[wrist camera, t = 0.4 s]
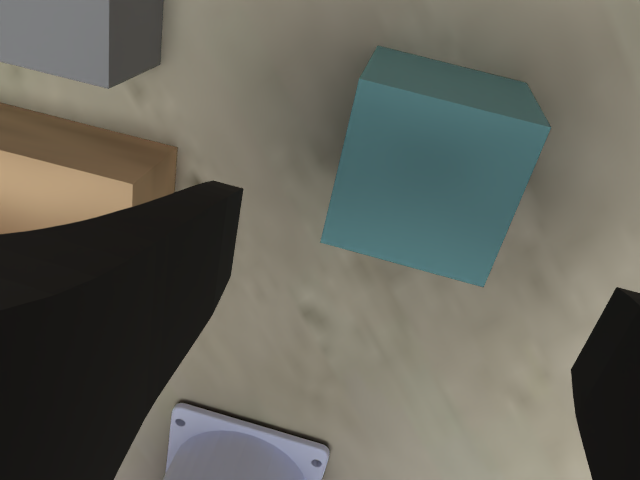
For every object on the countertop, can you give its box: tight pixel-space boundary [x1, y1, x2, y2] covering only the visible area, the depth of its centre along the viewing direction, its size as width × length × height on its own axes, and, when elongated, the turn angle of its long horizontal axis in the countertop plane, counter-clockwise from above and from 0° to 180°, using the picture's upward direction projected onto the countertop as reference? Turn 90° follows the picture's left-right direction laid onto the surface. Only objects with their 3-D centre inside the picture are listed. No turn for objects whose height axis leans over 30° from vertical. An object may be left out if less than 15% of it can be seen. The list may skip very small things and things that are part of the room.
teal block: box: [320, 46, 551, 287], centre depth 18 cm, size 5×5×5 cm
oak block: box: [0, 103, 177, 234], centre depth 23 cm, size 8×8×4 cm
